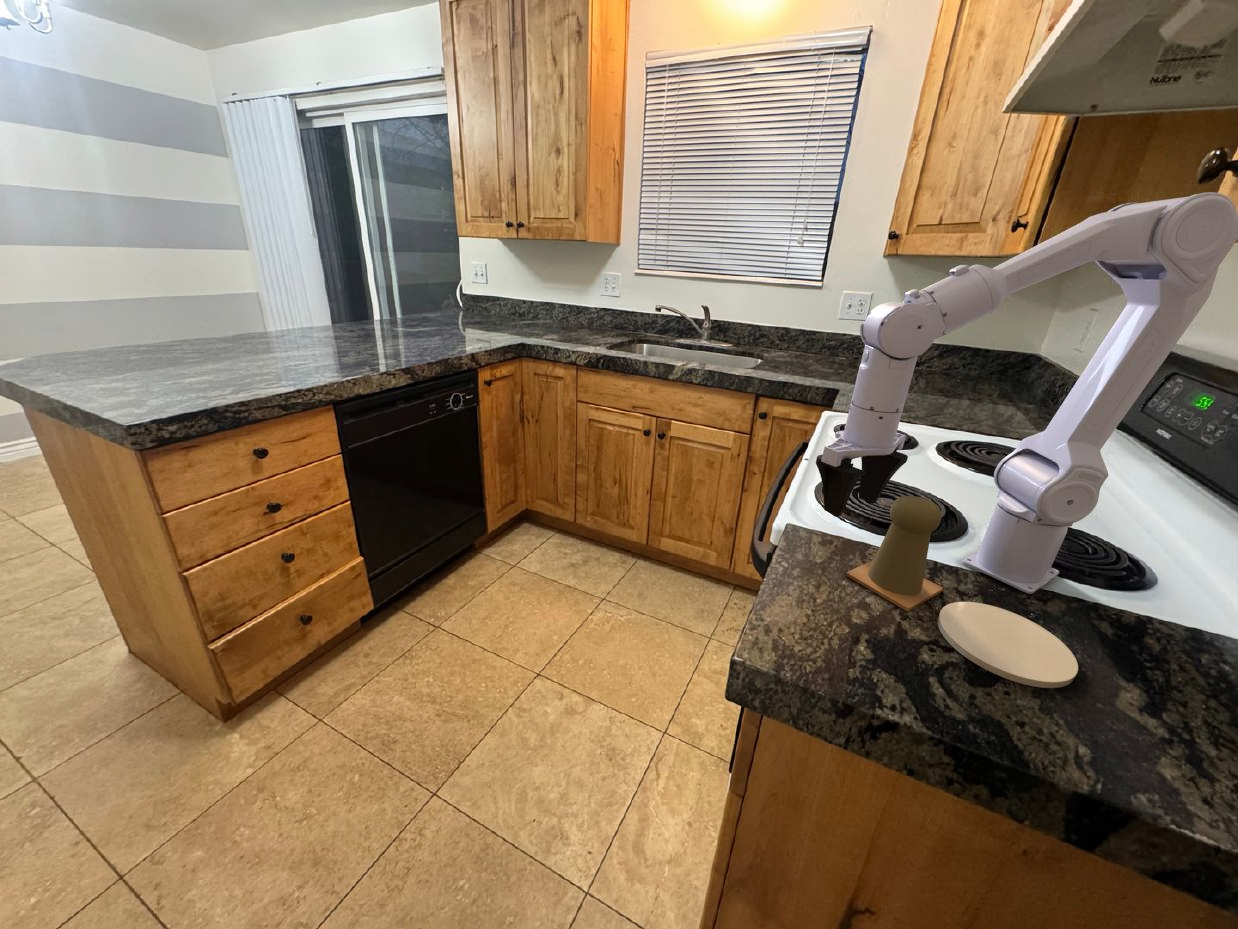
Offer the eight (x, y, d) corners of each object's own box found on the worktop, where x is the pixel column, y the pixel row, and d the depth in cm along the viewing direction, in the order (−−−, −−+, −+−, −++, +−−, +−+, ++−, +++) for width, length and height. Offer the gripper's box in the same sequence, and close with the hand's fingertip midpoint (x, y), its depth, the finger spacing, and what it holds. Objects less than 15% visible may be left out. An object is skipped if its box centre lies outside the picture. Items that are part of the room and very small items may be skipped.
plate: (967, 595, 60) (969, 590, 60) (1093, 659, 51) (1096, 653, 51) (915, 628, 54) (917, 622, 54) (1048, 707, 45) (1051, 701, 45)
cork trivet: (880, 559, 67) (881, 556, 67) (942, 591, 61) (943, 588, 61) (845, 575, 63) (846, 572, 63) (907, 612, 57) (908, 608, 56)
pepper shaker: (929, 599, 58) (959, 516, 54) (875, 590, 59) (899, 508, 55) (912, 570, 64) (937, 493, 60) (862, 563, 65) (884, 486, 61)
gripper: (879, 393, 67) (855, 484, 72) (810, 403, 59) (789, 505, 64) (932, 406, 61) (902, 504, 67) (864, 420, 54) (836, 529, 59)
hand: (850, 506), depth 65 cm, fingers open, 7 cm apart
